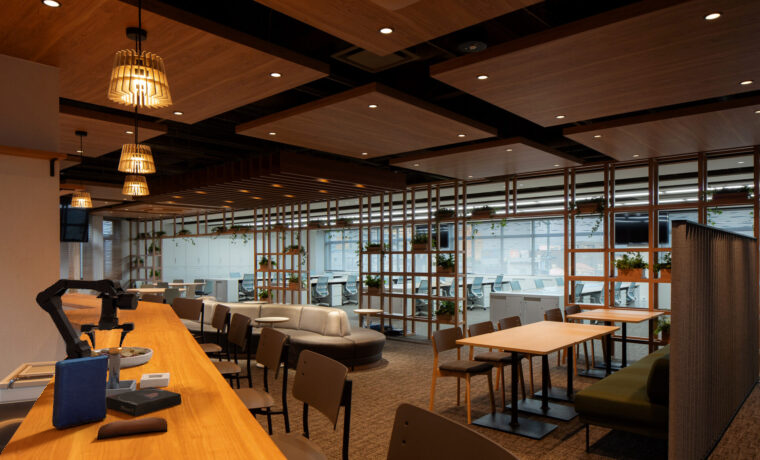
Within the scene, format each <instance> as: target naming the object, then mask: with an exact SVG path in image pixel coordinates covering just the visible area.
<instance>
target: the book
mask: <svg viewBox="0 0 760 460" xmlns="http://www.w3.org/2000/svg"><path fill="white" fill-rule="evenodd" d="M107 368H108V356H106V355H104V354H102V355H98V356H94V357H86V358H79V359H72V360H64V359H62V360H57V361H56V363H55V364H54V382H53V383H54V385H53V402H52V415H51V422H52V427H54V428H55V429H58V430H59V429H66V428H70V427H75V426H80V425H85V424H88V423H93V422H97V421H101V420H105V419H106V418H107V414H108V408H107V403H106V400H105V397H106V384H107V383H106V382H107V381H108V379H107V378H108V369H107Z"/></svg>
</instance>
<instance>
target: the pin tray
mask: <svg viewBox="0 0 760 460" xmlns="http://www.w3.org/2000/svg"><path fill="white" fill-rule="evenodd" d="M106 383H107V384H106V397H108V396H112V395H117V394H121V393H126V392H130V391H134V390H137V379H125V380H124V379H123V380H122V379H121V380H120V379H119V389H108V380H107V382H106ZM106 397H105V400H106Z"/></svg>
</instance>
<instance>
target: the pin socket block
mask: <svg viewBox="0 0 760 460" xmlns="http://www.w3.org/2000/svg"><path fill="white" fill-rule="evenodd" d="M170 376H171V373H170V372H160V373H158V372H156V373H142V375H141V378H140V381H139V388H140V389H143V388H147V387H154V388H158V387H168V386H169V385H170V379H171V377H170Z"/></svg>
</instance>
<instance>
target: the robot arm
mask: <svg viewBox="0 0 760 460" xmlns="http://www.w3.org/2000/svg"><path fill="white" fill-rule="evenodd" d="M69 289H71V290H73V289H74V290H91V291H95V292H98V293H99V294H98V295H97V296H95V298H96V299H98V300H99V299H100V300H101V307H100V317H99V320H98V324H96V323H94V322H91V323H89V322H88V323H87V322H86V323H83V324H81V325H80V331H79V332H80V333H83V334H84V335H87V336H88V338H89V339H90V343H91V345H90V344H89V341H88V340H87V339H84V340H82V339H81V338H80V337H79V336H78V333H77V332H76V330H75V329H74V327H73V325H72V324H71V322H70V320H69V318H68V317H67V315H66V313H65V311H64V309H63V300H62V297H63V296H64V295H65V294H66V293H67V291H68V290H69ZM35 302H36V303H37V305H38V306H39V307H40V308H41V310H43V311H44V312H46V313H47V314H49V316H50V318H51V320H52V322H53V323H54V325H55V328H57V331H58V333H59V335H60V336H61V338H62V339H63V341H64V343H65V352H66V357H65V358H64V359H63V360H72V359H79V358H86V357H90V356H91V353H92V349H93V350H96V331H97V330H98V331H100V332H102V331H112V330H122V331H121V332H120V339H119V345H118V347H123V346H122V345H123V343H124V340H125V338H126V336H127V334H129V333H131V332H132V331H134V330H135V328H136V326H135V322H129V321H128V322H123V323H122V324H119V323H120V321H119V317H118V310H120V311H136V310H137V308H138V307H139V306H138V305H139V300H138V297H137V293H135V292H134V293H133V292H131V293H127V292H126V291H125V290H124V288H123V287H122V285H121V281H120V280H119V279H118V278H105V279H97V280H95V279H94V280H93V279H92V280H90V279H71V278H59V279H58V280H57V281H56V282H54V283H53V284H52V285H50V286H49V287H47V288H45V289H44V290H41V291H40V292H38V293H37V294H36V297H35Z"/></svg>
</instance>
